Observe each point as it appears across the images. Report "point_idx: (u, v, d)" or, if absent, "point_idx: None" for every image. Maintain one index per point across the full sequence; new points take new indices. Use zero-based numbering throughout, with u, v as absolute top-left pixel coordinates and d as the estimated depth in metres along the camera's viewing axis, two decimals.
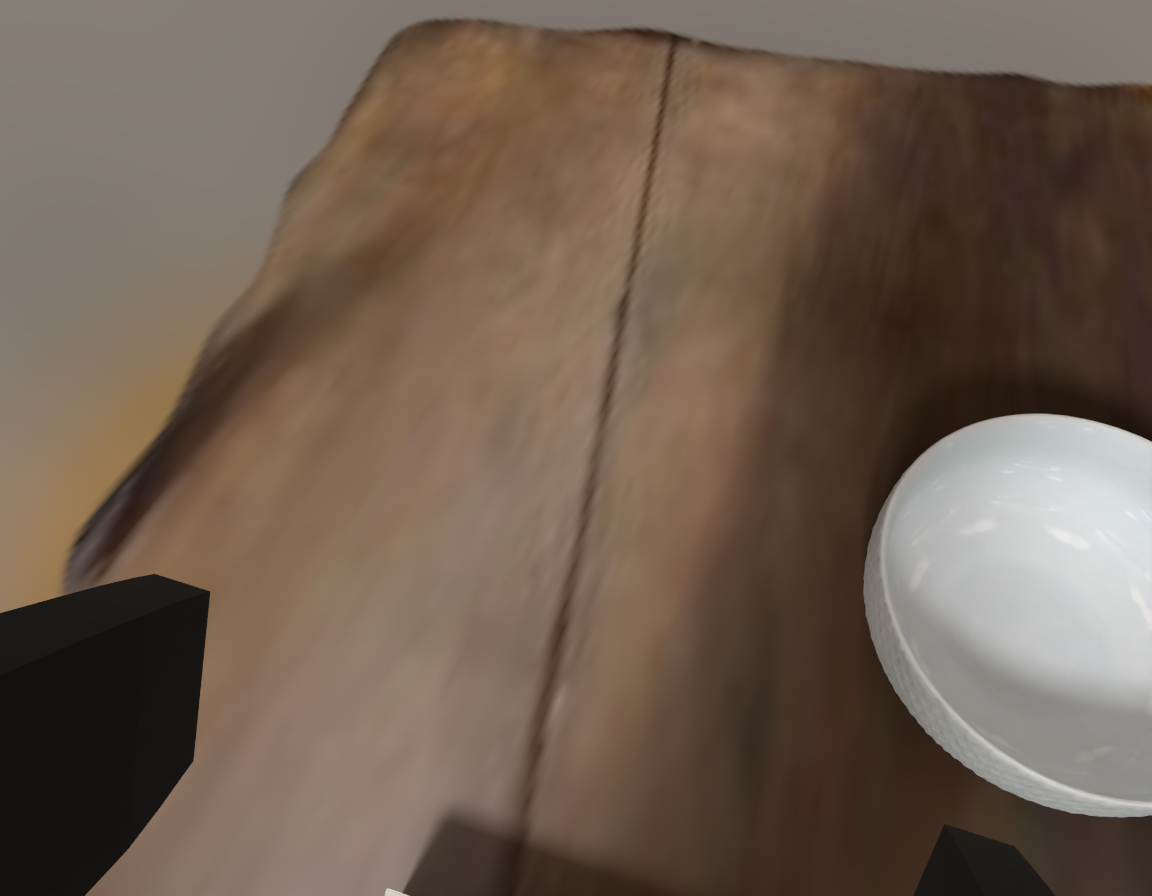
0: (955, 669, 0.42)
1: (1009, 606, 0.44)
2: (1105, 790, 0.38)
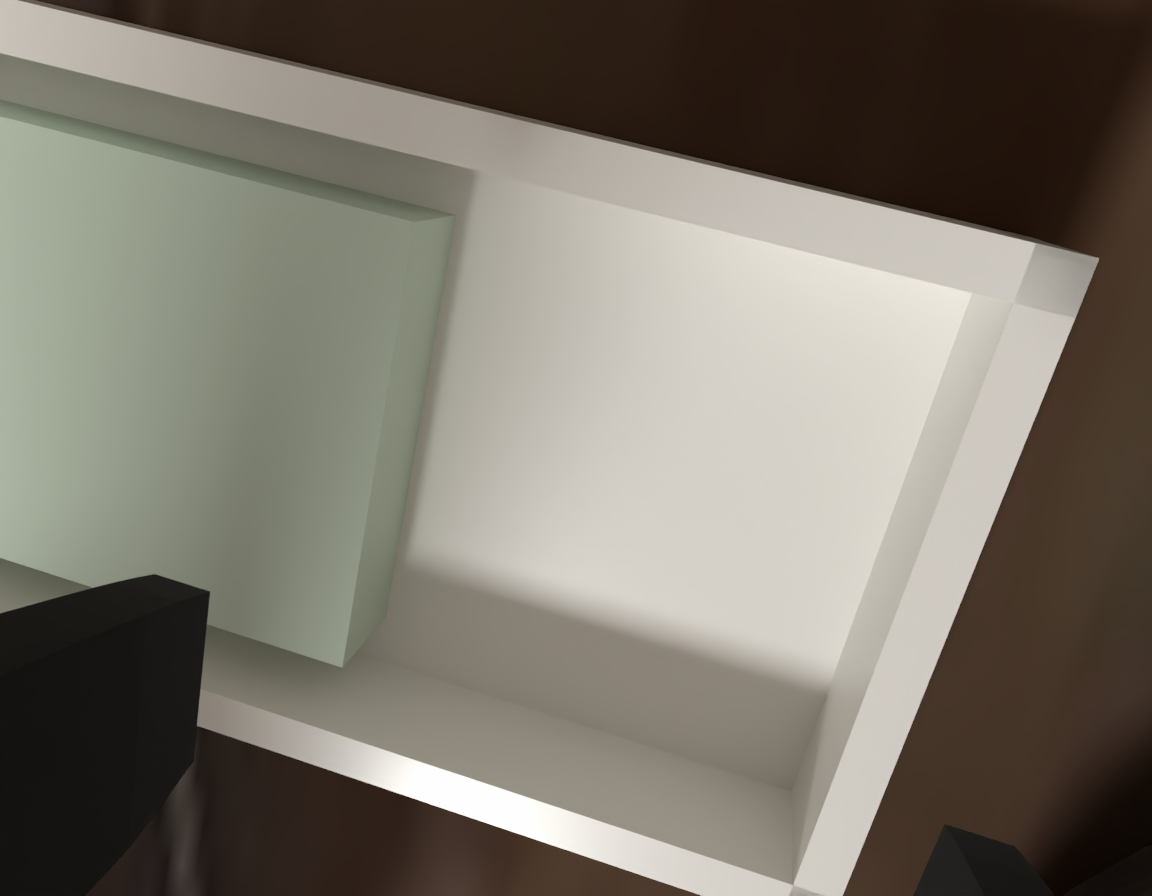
0: None
1: None
2: None
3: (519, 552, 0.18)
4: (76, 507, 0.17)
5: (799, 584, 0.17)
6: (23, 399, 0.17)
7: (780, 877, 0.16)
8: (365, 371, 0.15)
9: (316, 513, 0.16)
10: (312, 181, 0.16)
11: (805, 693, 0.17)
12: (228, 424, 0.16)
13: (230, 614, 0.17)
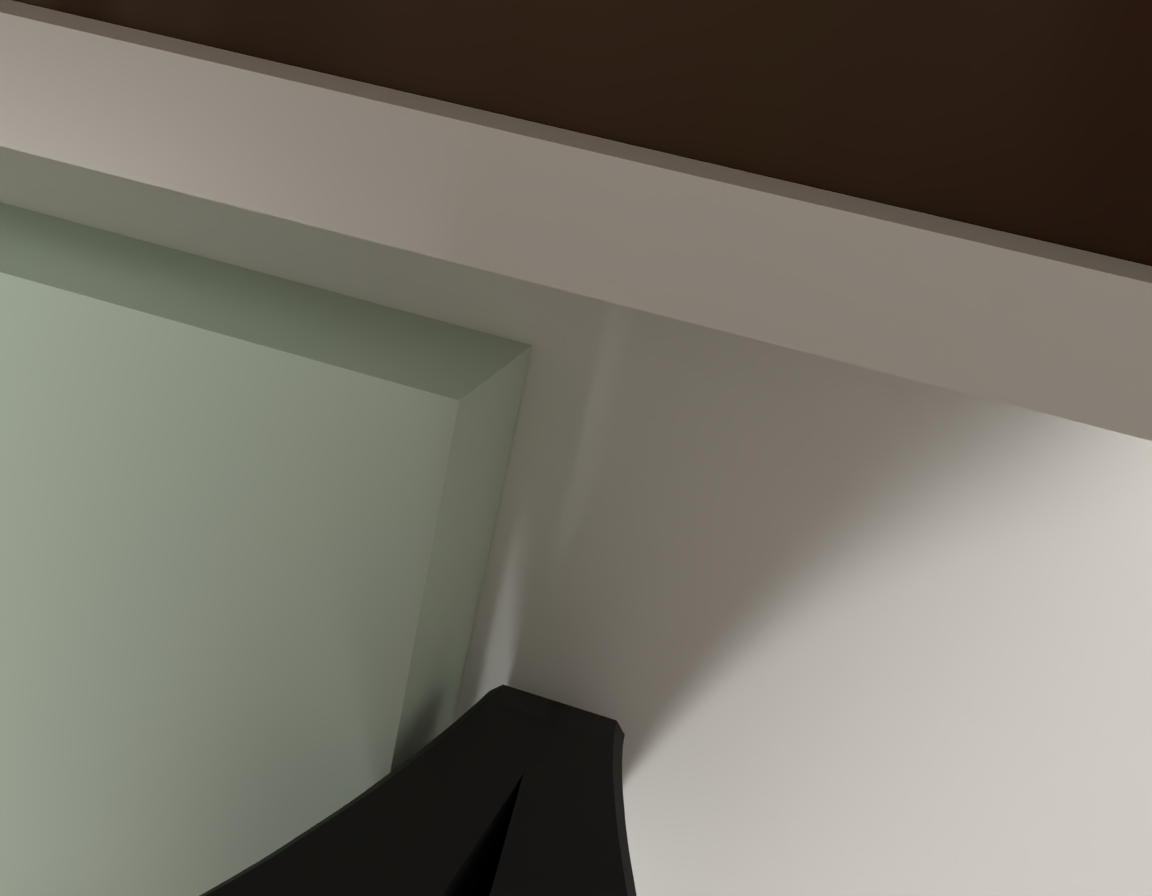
0: None
1: None
2: None
3: None
4: None
5: None
6: None
7: None
8: (353, 688, 0.07)
9: None
10: (251, 280, 0.08)
11: None
12: (85, 761, 0.08)
13: None
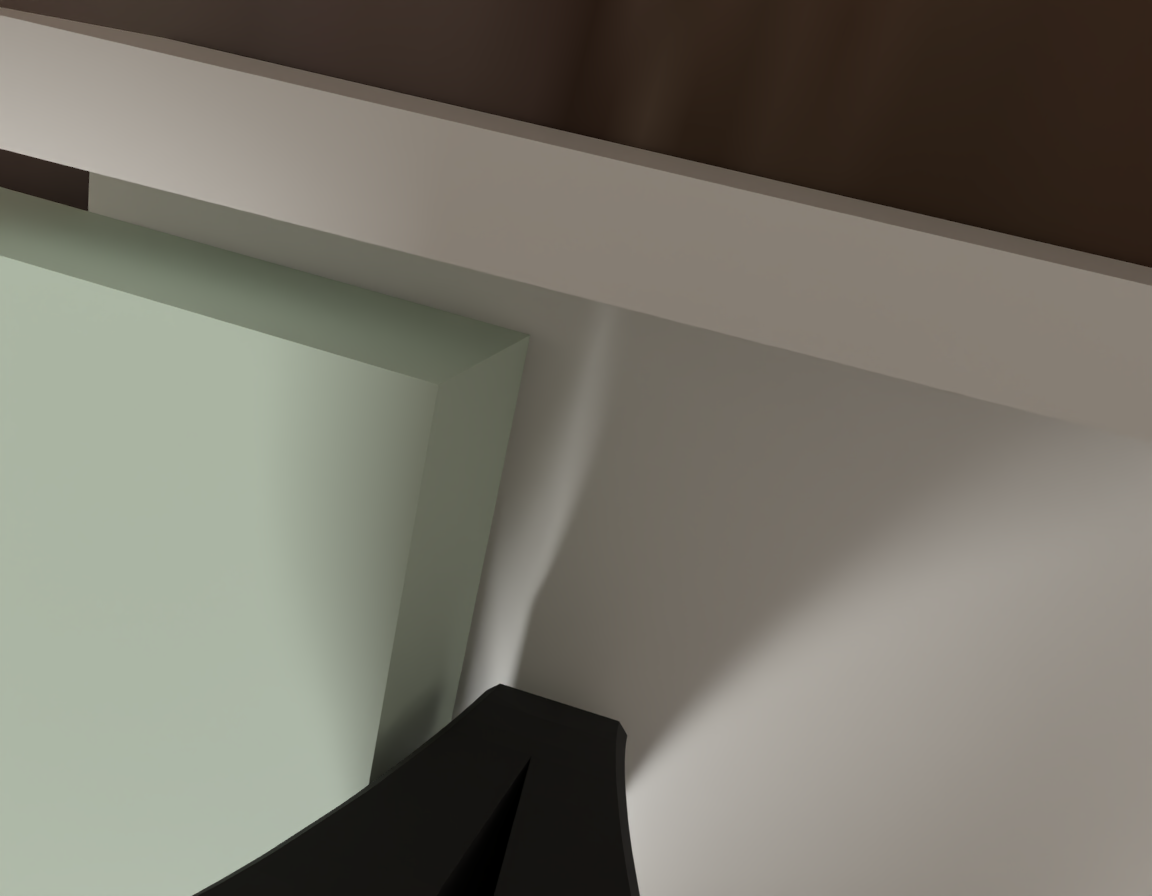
0: None
1: None
2: None
3: None
4: None
5: None
6: None
7: None
8: (334, 683, 0.07)
9: None
10: (247, 266, 0.08)
11: None
12: (71, 751, 0.08)
13: None
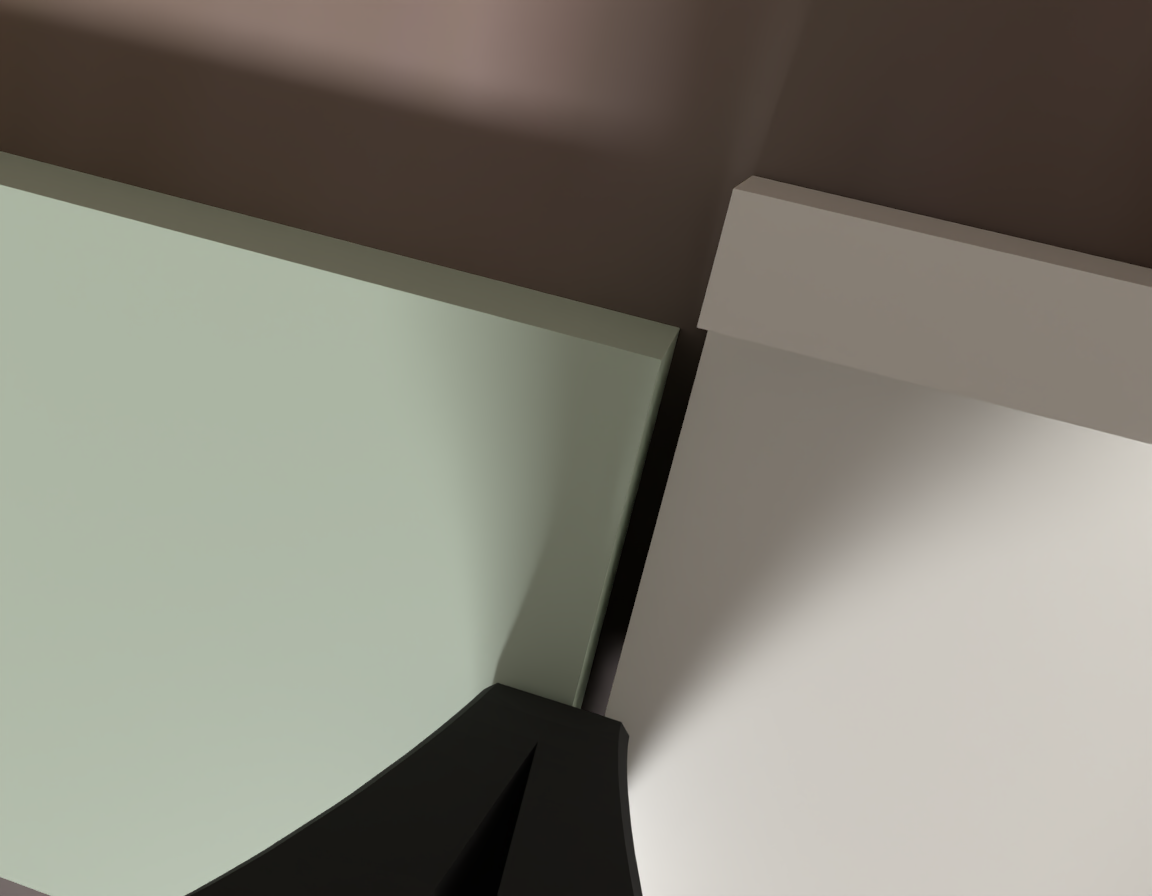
0: None
1: None
2: None
3: None
4: (47, 788, 0.11)
5: None
6: None
7: None
8: (551, 611, 0.09)
9: None
10: None
11: None
12: (301, 681, 0.09)
13: None
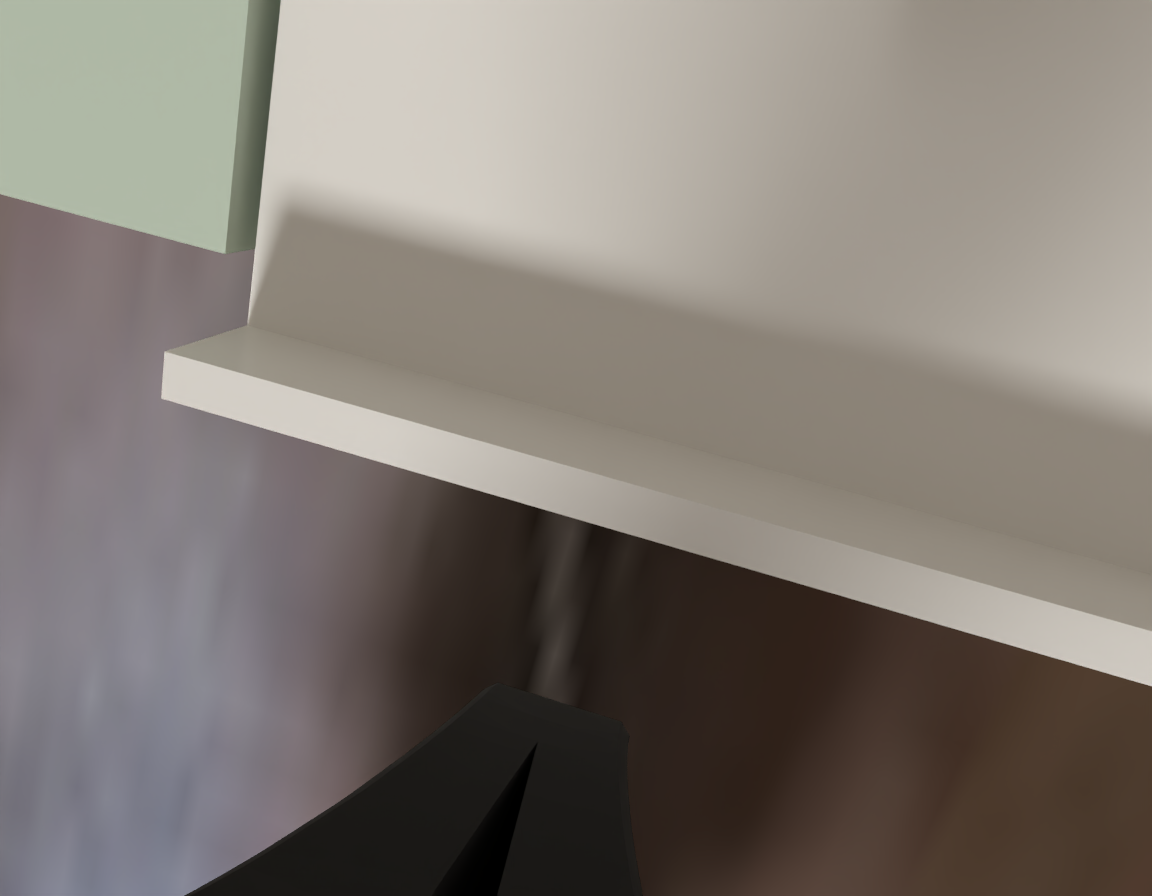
0: None
1: None
2: None
3: (1081, 351, 0.15)
4: None
5: None
6: None
7: None
8: None
9: (192, 75, 0.16)
10: None
11: None
12: None
13: (113, 205, 0.17)
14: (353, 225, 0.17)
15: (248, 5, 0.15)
